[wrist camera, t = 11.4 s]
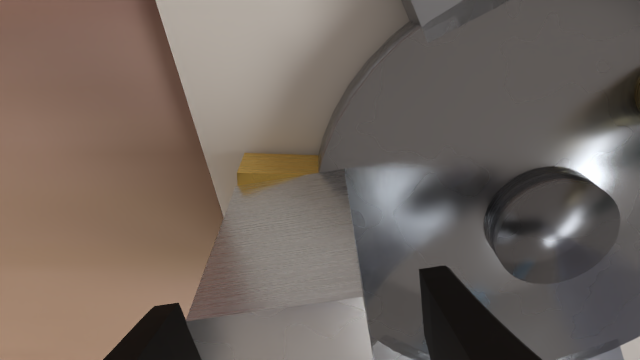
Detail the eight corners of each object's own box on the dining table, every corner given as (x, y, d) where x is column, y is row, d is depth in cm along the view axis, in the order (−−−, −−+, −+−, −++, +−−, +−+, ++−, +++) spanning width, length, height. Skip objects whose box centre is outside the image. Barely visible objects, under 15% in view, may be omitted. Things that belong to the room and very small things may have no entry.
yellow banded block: (368, 308, 14) (394, 477, 9) (273, 321, 14) (252, 493, 9) (345, 168, 11) (367, 299, 7) (233, 186, 12) (181, 324, 7)
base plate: (732, 348, 18) (743, 358, 17) (286, 403, 19) (285, 413, 18) (956, -263, 9) (989, -275, 9) (133, -95, 11) (124, -98, 10)
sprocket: (932, 100, 12) (1452, 208, 7) (513, 426, 18) (598, 622, 13) (531, -327, 8) (975, -939, 3) (172, 272, 15) (85, 457, 9)
